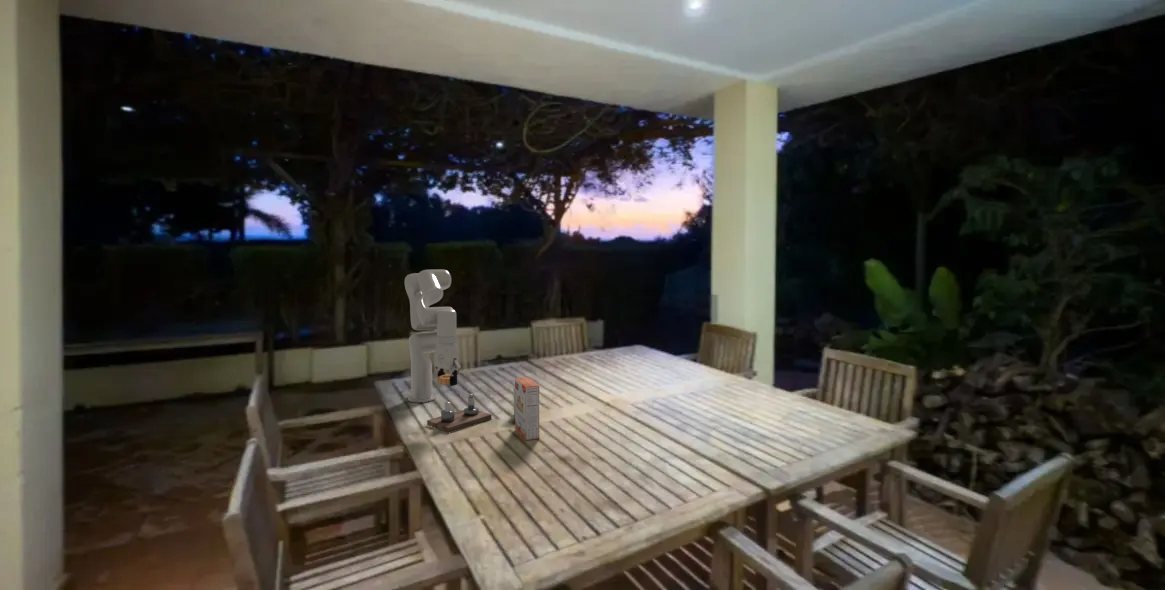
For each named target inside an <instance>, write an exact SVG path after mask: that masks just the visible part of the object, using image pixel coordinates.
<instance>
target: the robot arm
mask: <svg viewBox="0 0 1165 590" xmlns="http://www.w3.org/2000/svg"><path fill="white" fill-rule="evenodd" d="M451 284H452V275H451V273H450V272H449V271H448V270H446V269H423V270H421V271H419V272H418V273H416V272H414V273H410V274H407V275H406V276H405V278H404V287H405V288H404V289H405V291H406V294H407V297H408V300H409V314H410V324H411V328H412V329H413V330H415V331H430V330H431V332H417V333H415V334H411V335H410V336H409V338H408V349H409V356H410V378H411V379H410V387H411V388H410V389H408V392H409V393H410V395H409V396H408V398H407V401H409V402H411V403H419V404H421V402H422V403H428V401H429V402H432V401H435V400H436V398H437V396H436V394H433V364H432V363H434V366H435V369H436V373H437V377H438V376H441V375H446V371H448V372H449V374H451V376H450V385H449V386H450V387H454V386H457V385H458V376H459V373H460V371H461V370H462V366H461V365H460V363H459V349H458V345H457V342H458V341H457V337H458V335H457V312H456V310H455V309H453V307H451V306H432V305H434V304H436V303H438V302H440V301H441V299H443V297H444V290H446V289H449V288H450V287H451ZM430 306H431V307H430ZM432 330H434V331H433V332H432ZM430 353H432V354H433V353H434V360H433V362H432V360H431V358H429V356H428V355H427V354H430ZM445 370H446V371H445Z"/></svg>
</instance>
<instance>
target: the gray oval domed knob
mask: <svg viewBox="0 0 1165 590" xmlns="http://www.w3.org/2000/svg"><path fill="white" fill-rule="evenodd" d="M451 406H452V402H451V401H446V402H444V409H442V410H441V412H440V414H441V415H440V416H441V422H443V423H451V422H454V421H455V420H454V412H455V410H454V409H451V408H452V407H451Z"/></svg>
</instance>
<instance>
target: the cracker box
mask: <svg viewBox="0 0 1165 590" xmlns="http://www.w3.org/2000/svg"><path fill="white" fill-rule="evenodd" d="M514 387H515V416H514V417H515V419H514V420H515V430H516V431H517V432H518V433H519V434H520V436H522V438H523V439H524V441H531V440H538V439H540V385H539V384H537V383H536V382H535V381H534V380H532V379H531V378H530V377H518V378H517V377H516V378H514Z"/></svg>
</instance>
